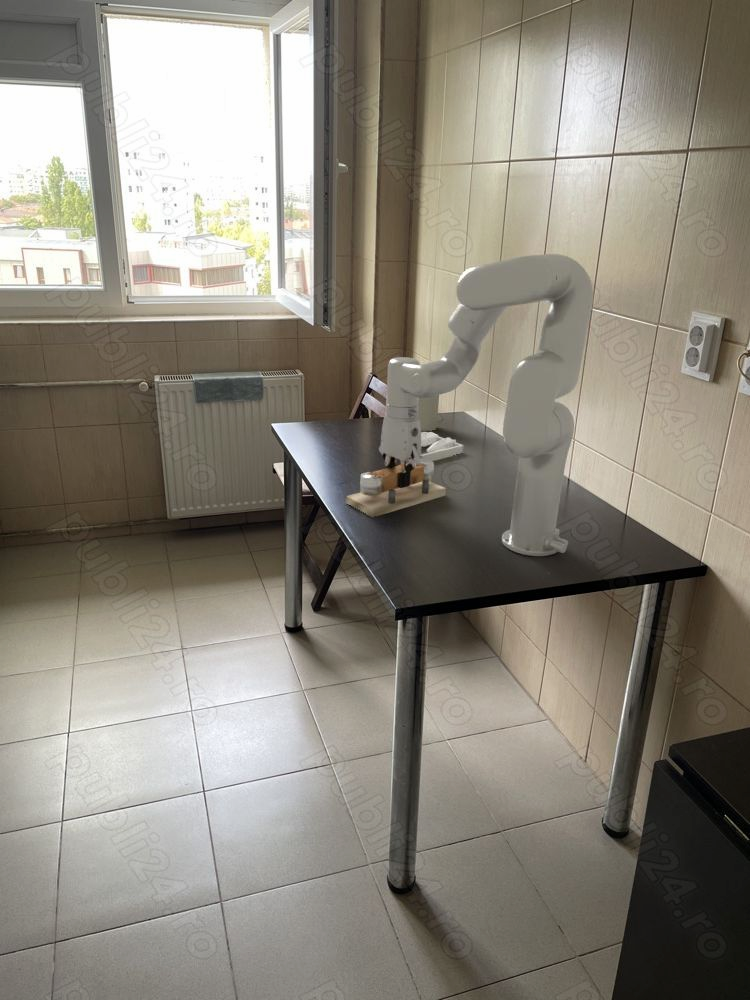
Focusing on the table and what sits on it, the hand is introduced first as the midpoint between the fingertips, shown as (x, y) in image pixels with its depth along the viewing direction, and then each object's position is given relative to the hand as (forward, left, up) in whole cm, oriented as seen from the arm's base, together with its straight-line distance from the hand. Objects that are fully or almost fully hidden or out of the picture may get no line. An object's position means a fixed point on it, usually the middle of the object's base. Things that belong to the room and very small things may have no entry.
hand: (397, 483), depth 179 cm
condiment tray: (+24, -32, -4) cm, 40 cm away
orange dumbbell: (0, 0, 0) cm, 0 cm away
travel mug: (+41, -49, -5) cm, 64 cm away
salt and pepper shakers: (+25, -35, -5) cm, 43 cm away
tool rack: (0, 0, -4) cm, 4 cm away
